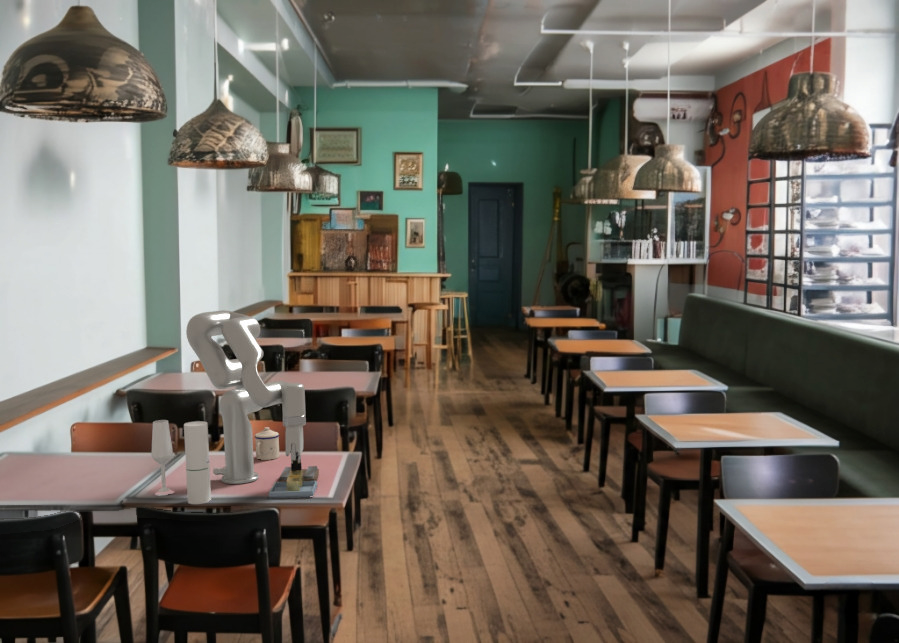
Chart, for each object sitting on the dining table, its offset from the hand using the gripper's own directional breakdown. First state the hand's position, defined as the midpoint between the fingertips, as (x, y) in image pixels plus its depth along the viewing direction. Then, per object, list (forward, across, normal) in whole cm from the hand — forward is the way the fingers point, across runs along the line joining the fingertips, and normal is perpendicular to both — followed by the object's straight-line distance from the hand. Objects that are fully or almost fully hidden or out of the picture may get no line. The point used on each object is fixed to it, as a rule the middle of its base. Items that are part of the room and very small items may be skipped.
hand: (296, 474), depth 287 cm
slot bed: (+4, -6, 0) cm, 7 cm away
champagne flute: (+4, +2, -43) cm, 43 cm away
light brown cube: (+2, +3, 0) cm, 4 cm away
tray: (+4, +7, 0) cm, 8 cm away
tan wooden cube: (+1, +6, 0) cm, 6 cm away
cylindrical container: (+4, +13, -29) cm, 32 cm away
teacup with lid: (+4, -40, -17) cm, 43 cm away
